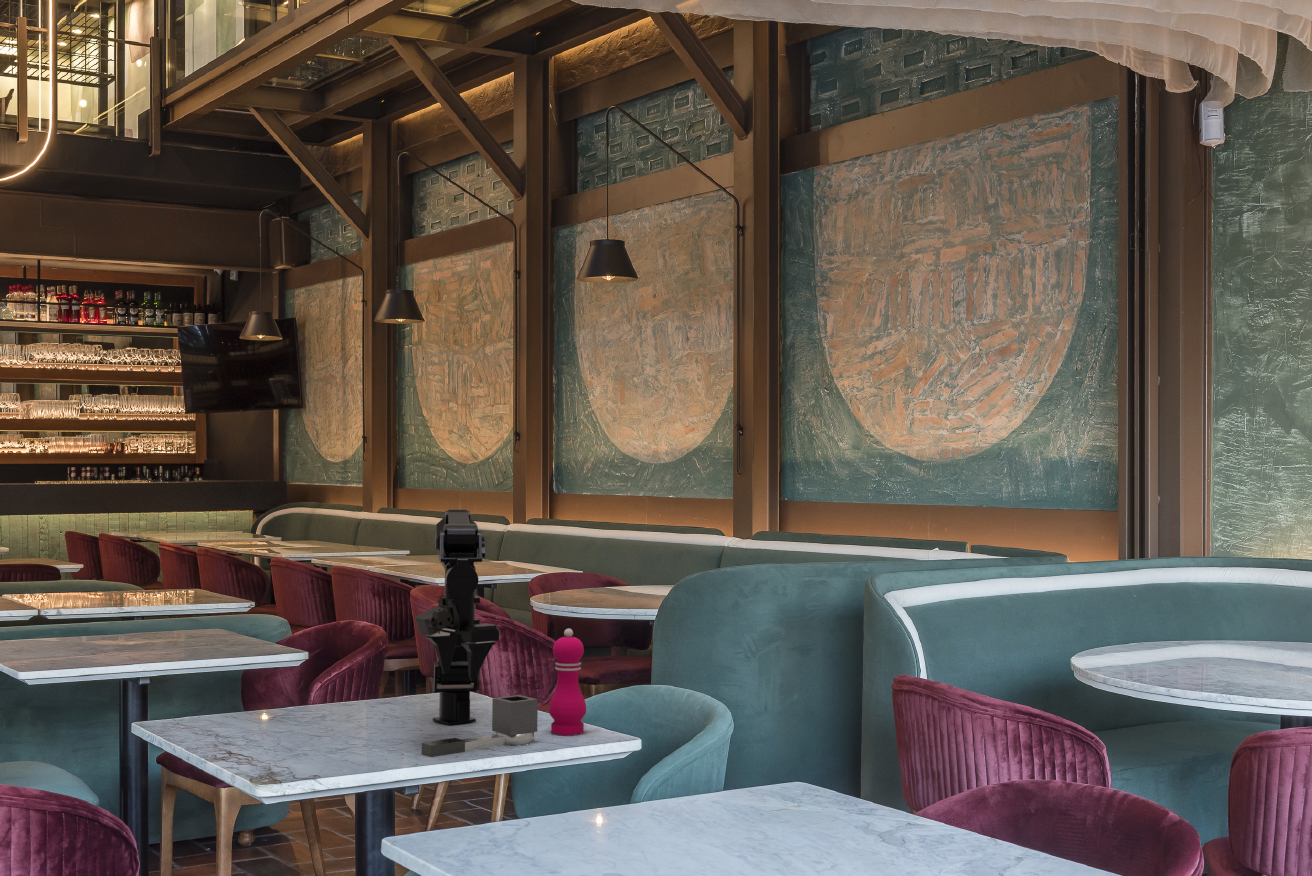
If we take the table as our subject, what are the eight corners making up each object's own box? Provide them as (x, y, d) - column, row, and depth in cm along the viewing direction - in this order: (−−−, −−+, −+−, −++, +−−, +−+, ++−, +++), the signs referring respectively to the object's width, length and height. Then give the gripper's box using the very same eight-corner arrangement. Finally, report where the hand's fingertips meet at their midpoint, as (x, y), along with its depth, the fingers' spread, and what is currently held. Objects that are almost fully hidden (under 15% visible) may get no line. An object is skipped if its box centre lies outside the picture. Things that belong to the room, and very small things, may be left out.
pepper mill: (588, 729, 249) (589, 626, 250) (583, 736, 242) (584, 630, 243) (552, 728, 250) (553, 626, 251) (545, 735, 243) (546, 630, 243)
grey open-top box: (492, 730, 237) (492, 698, 237) (518, 726, 241) (518, 695, 241) (510, 735, 232) (511, 702, 233) (537, 731, 236) (537, 699, 236)
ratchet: (415, 752, 227) (416, 722, 227) (519, 736, 241) (520, 709, 242) (436, 758, 221) (437, 728, 222) (541, 742, 236) (541, 714, 236)
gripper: (396, 590, 239) (395, 674, 239) (449, 598, 225) (448, 686, 225) (447, 588, 247) (446, 669, 246) (502, 594, 233) (501, 680, 232)
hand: (458, 676), depth 237 cm, fingers open, 9 cm apart
